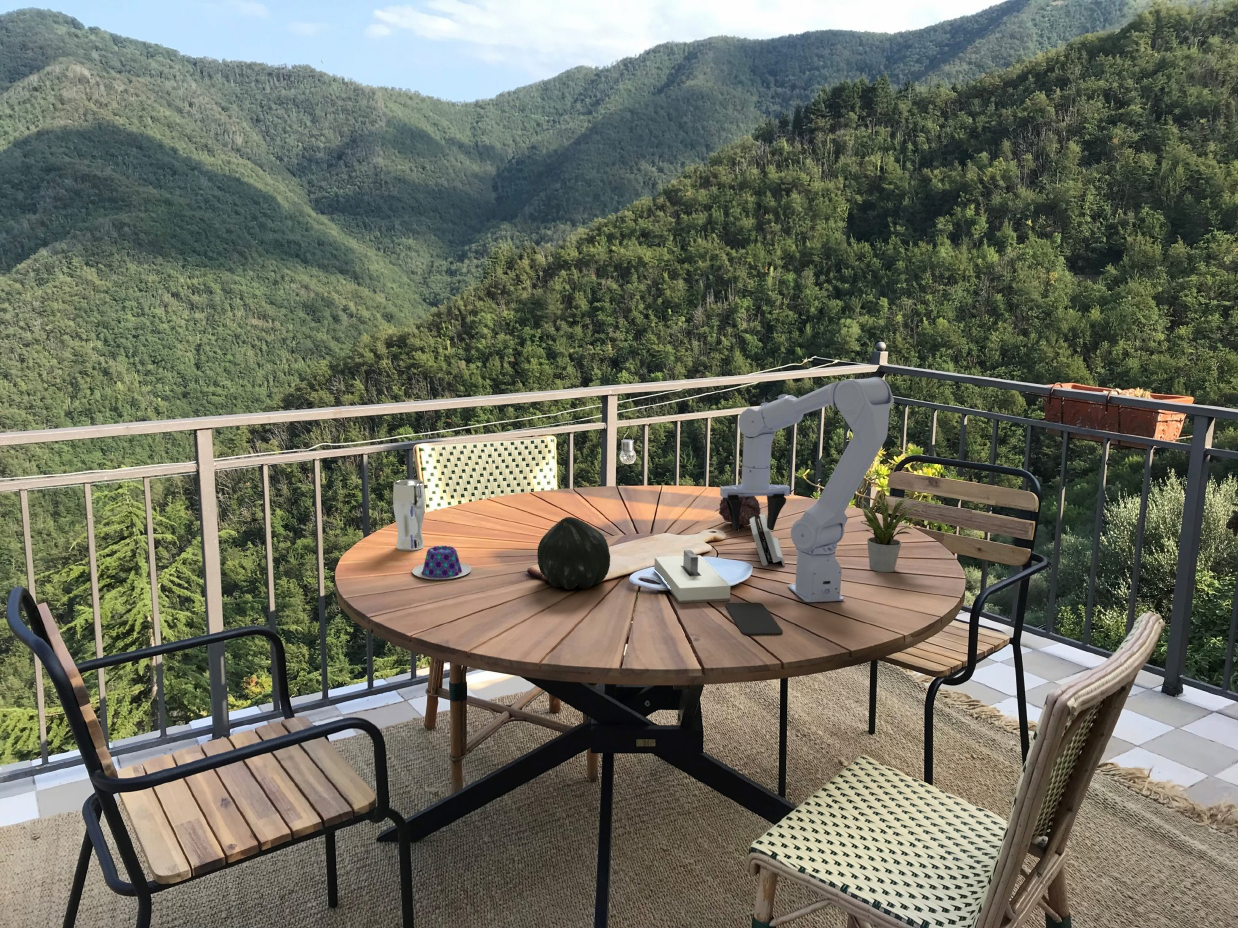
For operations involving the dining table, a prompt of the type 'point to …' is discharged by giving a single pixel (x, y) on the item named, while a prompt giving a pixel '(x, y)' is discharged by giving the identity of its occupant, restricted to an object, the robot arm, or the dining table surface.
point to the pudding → (441, 564)
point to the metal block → (690, 563)
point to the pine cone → (742, 510)
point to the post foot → (692, 581)
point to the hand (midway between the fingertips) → (753, 529)
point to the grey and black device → (766, 541)
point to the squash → (573, 555)
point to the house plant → (884, 536)
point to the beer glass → (409, 513)
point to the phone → (753, 619)
